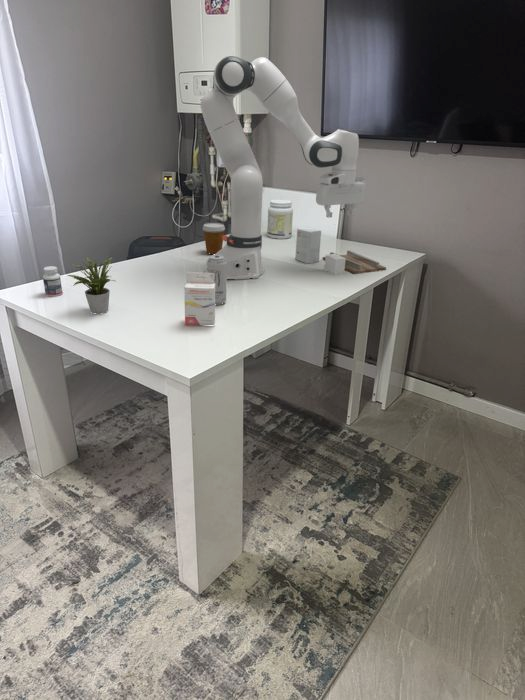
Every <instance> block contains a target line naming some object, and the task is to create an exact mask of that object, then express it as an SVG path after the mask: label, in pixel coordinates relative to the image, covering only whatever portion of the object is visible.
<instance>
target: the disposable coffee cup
mask: <svg viewBox="0 0 525 700" xmlns="http://www.w3.org/2000/svg"><path fill="white" fill-rule="evenodd" d="M225 230H226V227H225V225H224V224H222V223H219V222H207V223H204V224H203V226H202V231H203V234H204V235H203V236H204V243H205V244H204V245H205V251H206V254H207V253H210V254H216V253H217V252H218V251H220V250H221V249H222V248H223V243H224V240H223V239H222V236H223V235H225Z"/></svg>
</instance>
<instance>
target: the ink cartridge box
mask: <svg viewBox="0 0 525 700" xmlns="http://www.w3.org/2000/svg"><path fill="white" fill-rule="evenodd" d="M185 274H186V275H185V276H186V277H185V278H186V282H185V285H184V325H214V324H215V322H216V305H215V282H214V281H215V279H214V278H215V274H214V273H205V272H195V271H193V272H192V271H187V272H185ZM198 277H200V278H198ZM201 277H204V278H201ZM215 325H216V324H215ZM215 325H214V326H215Z"/></svg>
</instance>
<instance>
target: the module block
mask: <svg viewBox="0 0 525 700" xmlns="http://www.w3.org/2000/svg"><path fill="white" fill-rule="evenodd" d="M339 255H340V254H338V255H337V253H336V254H325V257H326V258H325V261H324V270H325V271H326V272H328V273H330V274H332V275H341V274H345V270H344V269H345V260H346V258H344V257H341V256H339Z"/></svg>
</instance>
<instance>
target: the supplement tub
mask: <svg viewBox="0 0 525 700" xmlns="http://www.w3.org/2000/svg"><path fill="white" fill-rule="evenodd" d="M269 205H270V206H269V207H268V208H267V228H266V229H267V230H266V231H267V232H266V234H267V236H268V237H269V238H271V239H275V238H277V239H276V240H286V239H289V238H291V237H292V235H293V234H292V233H293V217H294V216H293V215H294V209H293V207H292V206H293V205H292V200H288V199H271V200H270V201H269Z"/></svg>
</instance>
